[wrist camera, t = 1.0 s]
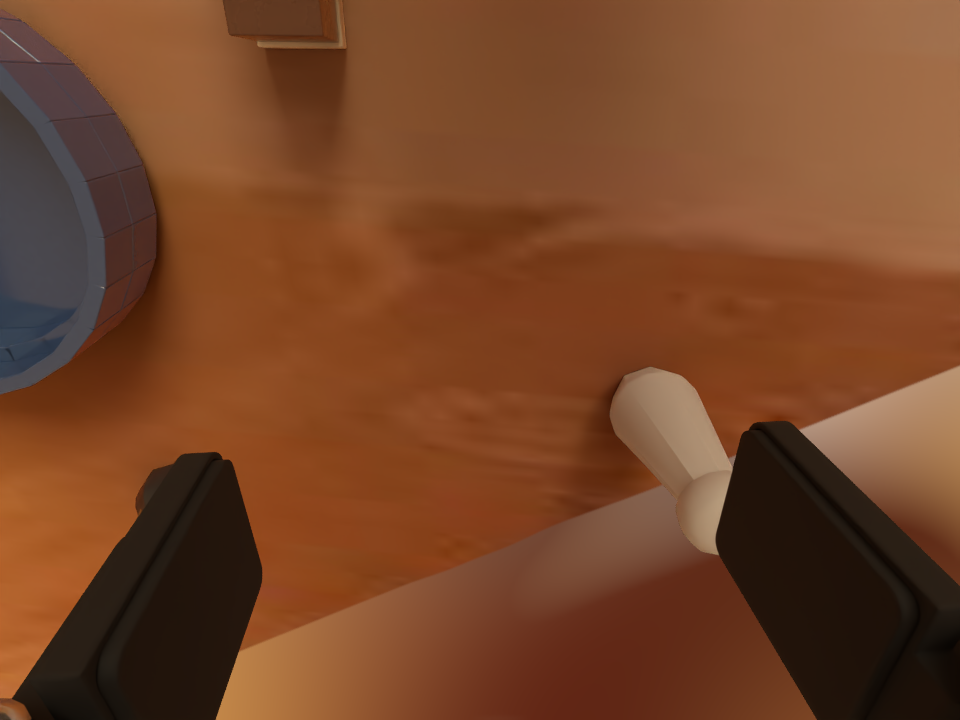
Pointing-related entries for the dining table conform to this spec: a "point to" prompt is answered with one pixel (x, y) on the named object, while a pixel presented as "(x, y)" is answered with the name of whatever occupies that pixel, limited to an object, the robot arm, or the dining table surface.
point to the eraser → (288, 23)
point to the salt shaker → (675, 447)
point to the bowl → (63, 211)
